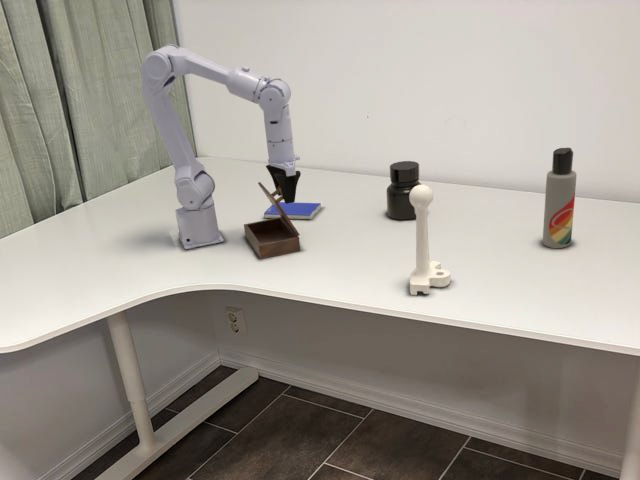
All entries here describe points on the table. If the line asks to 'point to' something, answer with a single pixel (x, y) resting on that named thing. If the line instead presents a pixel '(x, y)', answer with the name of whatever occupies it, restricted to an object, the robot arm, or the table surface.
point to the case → (271, 237)
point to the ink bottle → (402, 189)
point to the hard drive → (294, 210)
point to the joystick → (424, 246)
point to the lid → (276, 205)
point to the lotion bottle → (559, 200)
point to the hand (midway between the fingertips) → (286, 198)
